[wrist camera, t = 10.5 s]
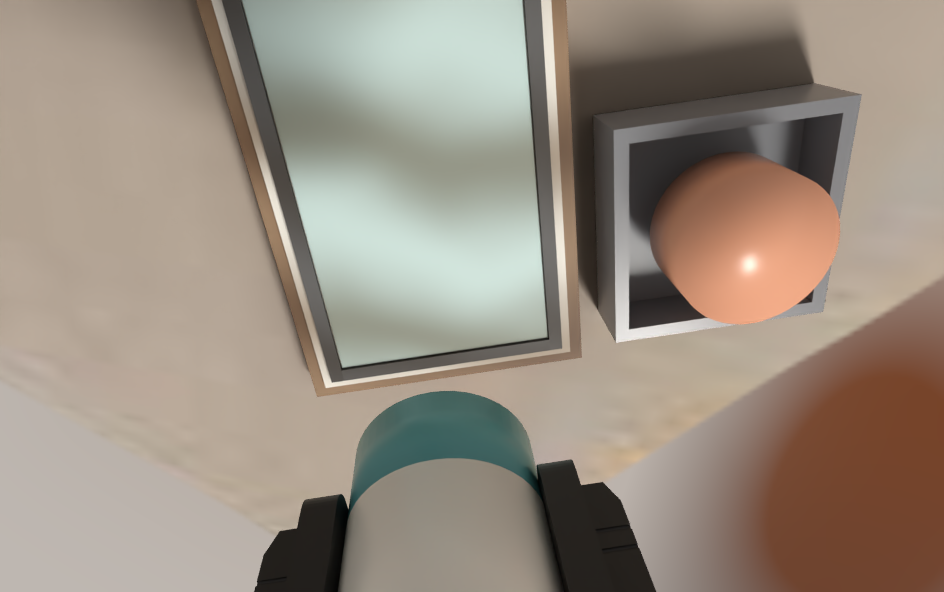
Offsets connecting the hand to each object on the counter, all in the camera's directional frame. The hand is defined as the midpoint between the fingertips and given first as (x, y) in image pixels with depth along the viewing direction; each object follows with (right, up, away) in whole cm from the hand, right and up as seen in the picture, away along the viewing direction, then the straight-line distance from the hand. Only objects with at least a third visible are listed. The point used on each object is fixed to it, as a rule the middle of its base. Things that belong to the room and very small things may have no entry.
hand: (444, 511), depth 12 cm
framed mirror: (-2, +10, +9) cm, 13 cm away
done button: (+9, +7, +9) cm, 15 cm away
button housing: (+9, +8, +11) cm, 16 cm away
